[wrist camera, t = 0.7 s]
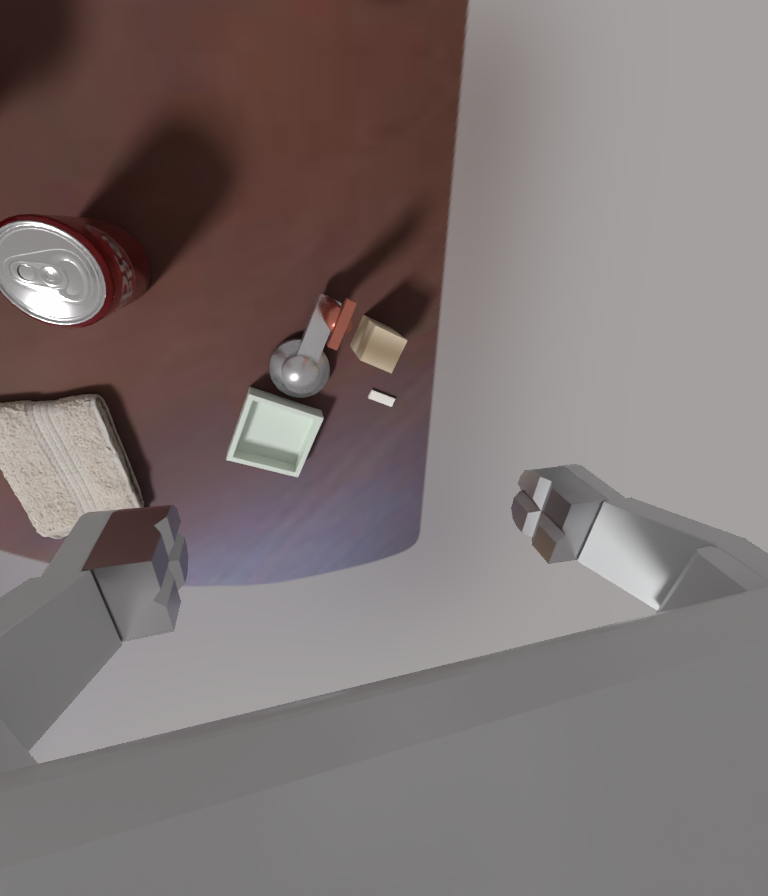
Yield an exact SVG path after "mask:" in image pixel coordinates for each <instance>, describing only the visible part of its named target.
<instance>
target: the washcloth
mask: <svg viewBox="0 0 768 896" xmlns="http://www.w3.org/2000/svg"><path fill="white" fill-rule="evenodd" d="M0 468H1V470H2V472H3V474H4V478H6V479H7V481H8V482H9V484H10V486H11V488H12V489H13V491H14V493H15V495H16V496H17V497H18V499H19V500H20V502H21V503H22V506H23V507H24V509H25V510H26V512H27V513H28V514H27V515H28V516H29V519H30V520H31V523H32V525H33V527H35V528H36V531H37V533H39V534H40V535H41V536H43V537H48V536H49V537H52V538H55V539H61V538H62V537H65V536H67V535H69V533H70V532H71V530H72V528H73V527H74V525H75V524H76V522H77V521H78V519H79V518H80V517H81V516H82V515H84V514H86V513H88V512H97V511H107V510H118V509H130V508H142V507H143V506H144V501H143V500H142V496H141V490H140V488H139V485H138V483H137V480H136V477H135V475H134V473H133V470H132V467H131V465H130V462H129V460H128V457H127V454H126V452H125V450H124V447H123V445H122V442H121V440H120V437H119V435H118V434H117V431H116V428H115V426H114V423H113V420H112V417H111V414H110V412H109V409H108V407H107V405H106V403H105V401H104V399H103V398H102V397H101V396H100V395H98V394H85V395H78V396H69V397H65V398H59V400H53V401H51V400H48V401H38V402H34V401H29V400H28V401H14V402H5V403H1V402H0Z"/></svg>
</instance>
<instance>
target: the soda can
mask: <svg viewBox="0 0 768 896" xmlns="http://www.w3.org/2000/svg"><path fill="white" fill-rule="evenodd" d="M150 281H151V266H150V262H149V259H148V256H147V254H146V252H145V250H144V249H143V247H142V246H141V245H140V243H139V242H138V241H137V240H136V239H135V238H134V237H133V236H132V235H131V234H130V233H129V232H128V231H126V230H125V229H124V228H122V227H120V226H118V225H117V224H115V223H113V222H110V221H107V220H104V219H98V218H88V217H71V216H55V215H38V214H21V215H16V216H12V217H8V218H6V219H4V220H3V221H1V222H0V292H1V293H2V295H3V296H4V297H5V298H6V299H7V300H8V301H9V302H10V303H11V304H12V305H14V306H15V307H16V308H18V309H19V310H20V311H22V312H23V313H25V314H26V315H28V316H30V317H32V318H34V319H36V320H38V321H41V322H43V323H46V324H48V325H53V326H57V327H62V328H80V327H85V326H89V325H92V324H94V323H96V322H98V321H99V320H101V319H103V318H105V317H107V316H108V315H110V314H112V313H114V312H116V311H117V310H119V309H121V308H123V307H125V306H126V305H128V304H130V303H132V302H134V301H135V300H137V299H139V298H140V297H141V296H142V295H144V294H145V292H146V291H147V289H148V287H149V284H150Z"/></svg>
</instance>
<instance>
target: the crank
mask: <svg viewBox="0 0 768 896" xmlns="http://www.w3.org/2000/svg"><path fill="white" fill-rule="evenodd" d="M341 304H342V303H341V302H340V301H338V300H336V299H333V298H331V297H329V296H327V295H325V294H323V293H321V292H319V294H318V297H317V299H316V302H315V304H314V307H313V310H312V312H311V315H310V318H309V320H308V323H307V325H306V328H305V331H304V333H303V336H302V339H301V341H300V344H299V346H298V349H297V352H296V353H293V354H291V355H289V356H288V357H287V358H286V359H285V360H284V361H283V363H282V366H281V374H282V380H283V383H284V384H285V386H286V387H287V388H288V389H289V390H290V391H292V392H295V393H299V394H305V393H309V392H311V391H313V390H314V389H315V388H316V387H317V386H318V385H319V383H320V380H321V371H320V368H319V366H318V361H319V358H320V356H321V353H322V351H323V348H324V346H325V343H326V341H327V339H328V336H329V334H330V331H331V334H330V336H329V339H328V341H327V344H326V345H327V347H329V348H332V349H334V350H336V351H337V349H338V347H339V345H340V342H341V340H342V337H343V336H344V335H346V334H348V333H349V332H350V330H351V328H352V319H351V316H352V314H353V311H354V309H355V307H356V304H357V303H356V302H354V301H352V300H350V299H348V298H346V297H345V300H344V302H343V305H342V307H341Z"/></svg>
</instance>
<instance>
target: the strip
mask: <svg viewBox="0 0 768 896" xmlns="http://www.w3.org/2000/svg"><path fill="white" fill-rule="evenodd" d="M368 398H369V399H372V400H374V401H377V402H380V403H383V404H385V405H388V406H391V407H392V405H393V403H394V401H395V398H393V397H390V396H388V395H385V394H382V393H380V392H377V391H375V390H371V392H370V394H369V396H368Z"/></svg>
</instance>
